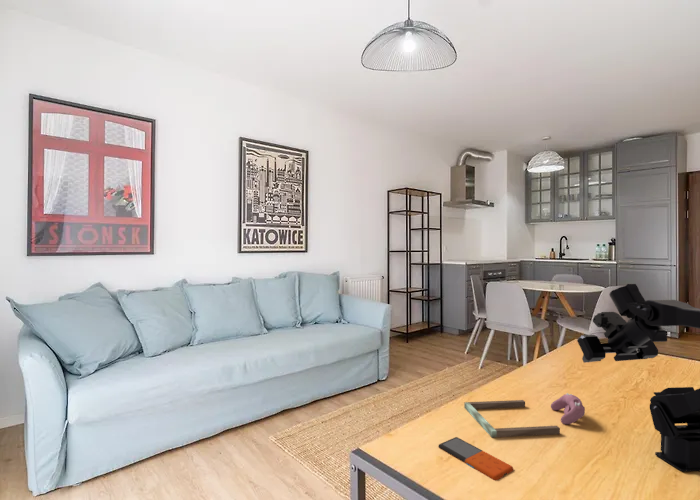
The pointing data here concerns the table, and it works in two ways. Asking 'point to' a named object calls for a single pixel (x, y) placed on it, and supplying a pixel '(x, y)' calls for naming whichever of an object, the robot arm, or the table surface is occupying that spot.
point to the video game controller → (569, 408)
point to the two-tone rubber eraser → (476, 458)
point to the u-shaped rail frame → (506, 432)
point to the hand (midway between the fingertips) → (599, 360)
